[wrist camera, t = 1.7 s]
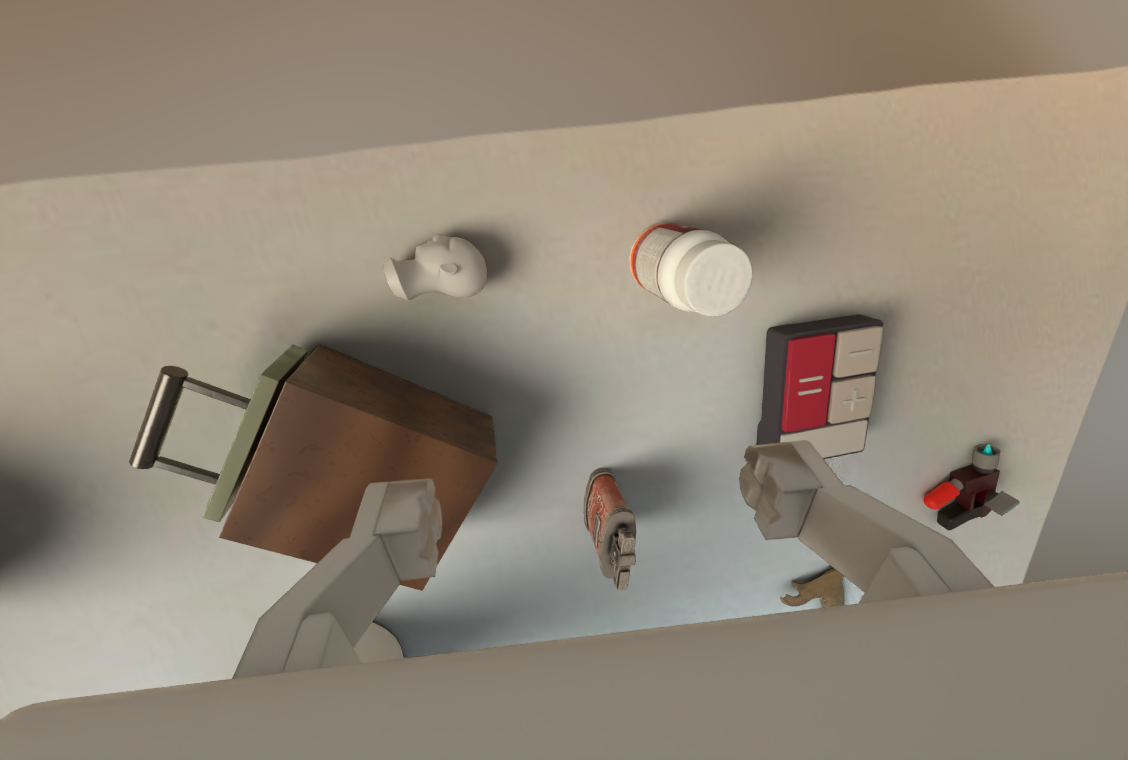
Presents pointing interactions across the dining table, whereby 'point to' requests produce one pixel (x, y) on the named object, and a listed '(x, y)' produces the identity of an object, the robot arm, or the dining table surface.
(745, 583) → the dining table surface
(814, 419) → the calculator
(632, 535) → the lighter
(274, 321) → the dining table surface
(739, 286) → the pill bottle
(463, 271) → the white mannequin head
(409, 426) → the cabinet
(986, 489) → the toy gun
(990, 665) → the robot arm
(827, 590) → the jawbone
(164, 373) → the drawer
